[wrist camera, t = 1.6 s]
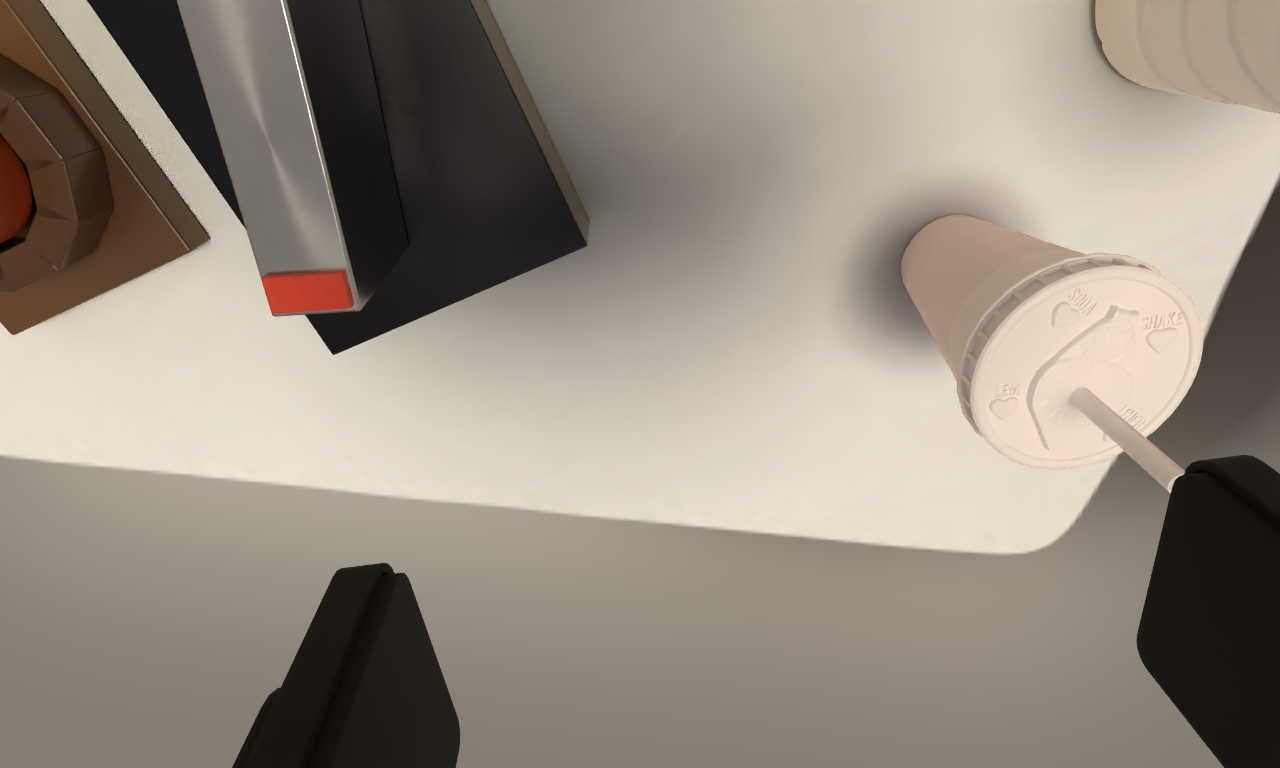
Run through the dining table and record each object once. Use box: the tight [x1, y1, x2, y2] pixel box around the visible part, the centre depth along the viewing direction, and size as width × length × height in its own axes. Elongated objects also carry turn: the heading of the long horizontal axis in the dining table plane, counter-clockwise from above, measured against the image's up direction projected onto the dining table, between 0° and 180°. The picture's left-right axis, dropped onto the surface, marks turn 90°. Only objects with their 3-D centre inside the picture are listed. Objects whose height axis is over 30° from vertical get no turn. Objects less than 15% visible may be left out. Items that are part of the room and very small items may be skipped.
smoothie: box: [901, 215, 1203, 493], centre depth 23 cm, size 6×6×14 cm
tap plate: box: [87, 0, 589, 355], centre depth 25 cm, size 14×10×3 cm
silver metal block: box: [177, 0, 409, 316], centre depth 21 cm, size 9×2×6 cm, turn 3°
